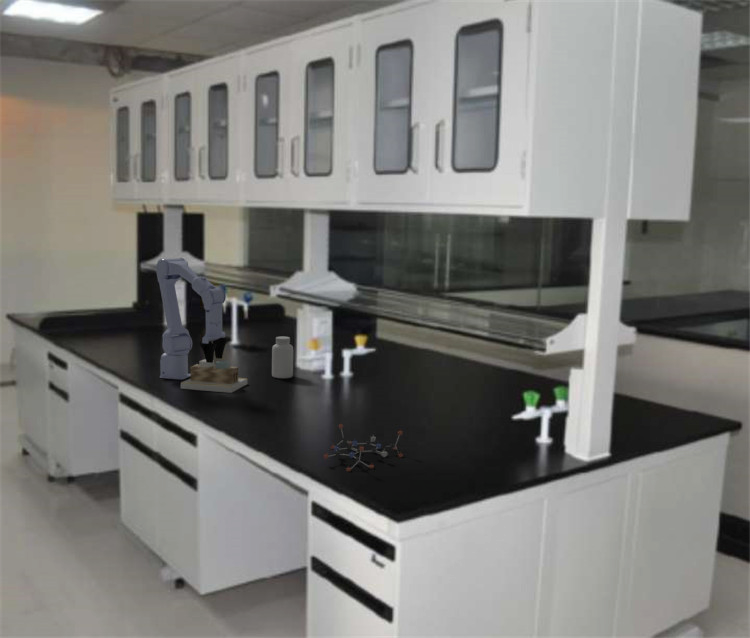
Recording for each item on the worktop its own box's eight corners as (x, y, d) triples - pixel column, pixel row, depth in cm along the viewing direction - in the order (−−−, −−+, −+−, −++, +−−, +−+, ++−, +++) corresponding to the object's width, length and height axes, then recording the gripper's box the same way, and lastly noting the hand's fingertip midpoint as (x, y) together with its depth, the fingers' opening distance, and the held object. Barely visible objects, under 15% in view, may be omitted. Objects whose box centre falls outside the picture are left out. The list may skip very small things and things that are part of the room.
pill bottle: (289, 379, 299) (289, 339, 297) (268, 378, 301) (269, 338, 299) (295, 375, 307) (296, 336, 305) (275, 373, 309) (275, 335, 306)
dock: (180, 388, 281) (180, 382, 281) (198, 380, 295) (198, 374, 295) (231, 392, 277) (231, 386, 277) (247, 384, 290) (247, 378, 290)
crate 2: (215, 368, 283) (215, 362, 283) (219, 366, 287) (219, 360, 286) (225, 368, 282) (225, 363, 282) (229, 366, 286) (229, 361, 285)
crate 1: (199, 366, 284) (199, 361, 284) (204, 364, 288) (204, 359, 288) (209, 367, 284) (209, 362, 283) (214, 365, 287) (213, 360, 287)
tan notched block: (190, 380, 285) (190, 366, 284) (197, 377, 290) (196, 364, 289) (232, 383, 281) (232, 369, 281) (238, 380, 286) (238, 367, 285)
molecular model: (417, 457, 213) (366, 439, 227) (417, 431, 212) (366, 415, 226) (348, 476, 197) (299, 456, 211) (349, 448, 196) (299, 430, 210)
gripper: (215, 326, 275) (215, 365, 277) (233, 320, 289) (233, 357, 291) (196, 324, 276) (197, 363, 278) (214, 319, 290) (215, 356, 292)
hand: (214, 360), depth 285 cm, fingers open, 7 cm apart
